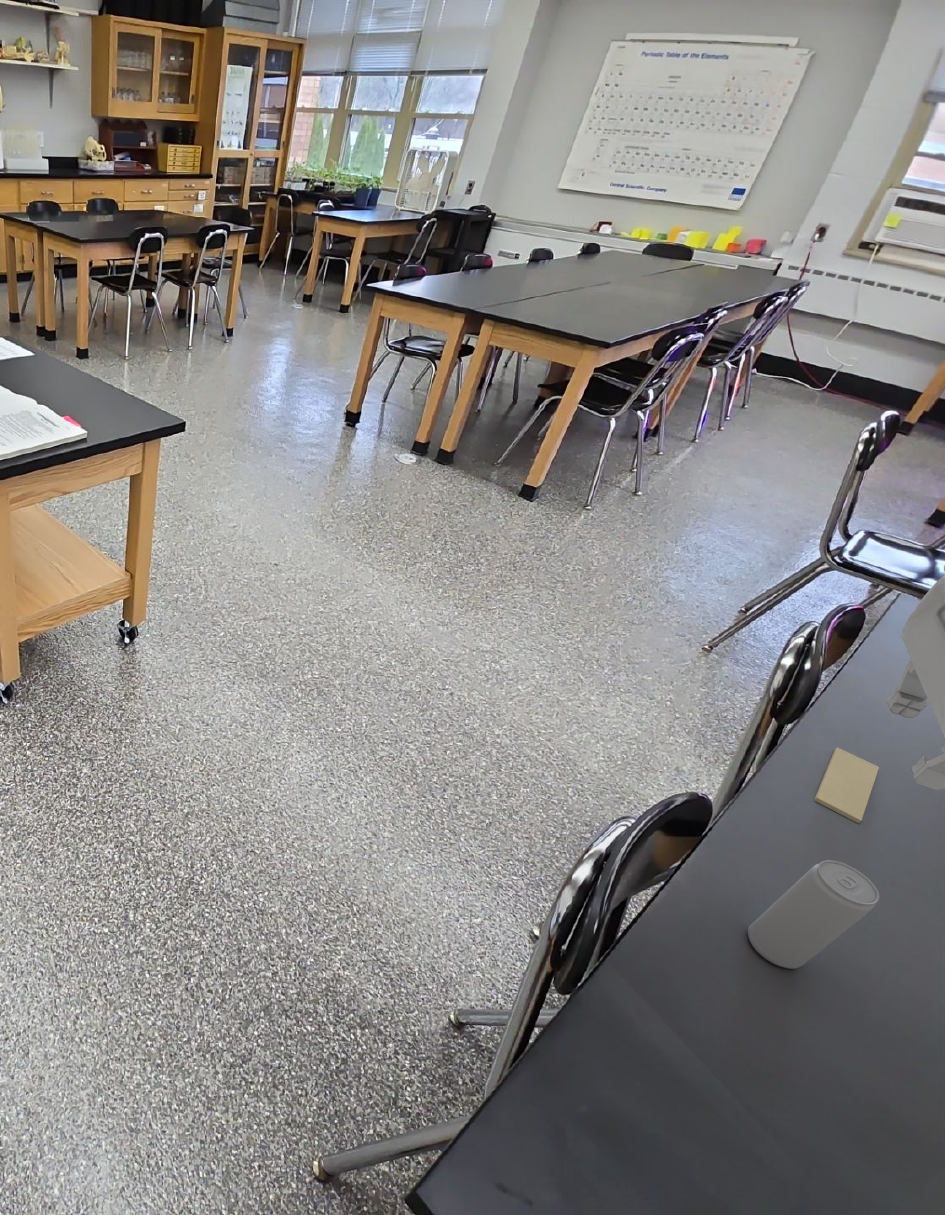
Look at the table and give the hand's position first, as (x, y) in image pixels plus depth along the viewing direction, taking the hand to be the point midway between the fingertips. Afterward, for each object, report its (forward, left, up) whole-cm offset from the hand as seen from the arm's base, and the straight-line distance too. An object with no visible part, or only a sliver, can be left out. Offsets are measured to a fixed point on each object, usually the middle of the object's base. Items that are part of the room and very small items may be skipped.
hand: (910, 744), depth 60 cm
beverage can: (-3, +2, -27) cm, 27 cm away
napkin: (-17, -29, -27) cm, 42 cm away
